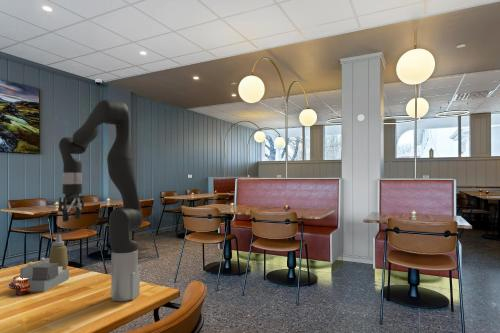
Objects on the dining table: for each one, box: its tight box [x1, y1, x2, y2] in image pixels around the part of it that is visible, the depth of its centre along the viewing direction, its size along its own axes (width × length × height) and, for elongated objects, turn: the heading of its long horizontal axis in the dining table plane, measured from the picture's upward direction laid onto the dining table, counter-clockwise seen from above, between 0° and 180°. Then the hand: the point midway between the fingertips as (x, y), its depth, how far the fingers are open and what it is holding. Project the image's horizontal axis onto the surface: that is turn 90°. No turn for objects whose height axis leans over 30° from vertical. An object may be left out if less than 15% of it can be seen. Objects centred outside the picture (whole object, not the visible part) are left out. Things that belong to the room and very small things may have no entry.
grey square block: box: [32, 263, 58, 280], centre depth 127 cm, size 7×7×5 cm
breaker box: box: [19, 257, 70, 293], centre depth 130 cm, size 10×15×10 cm
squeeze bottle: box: [48, 233, 69, 270], centre depth 147 cm, size 8×8×18 cm
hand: (72, 220), depth 137 cm, fingers open, 8 cm apart
